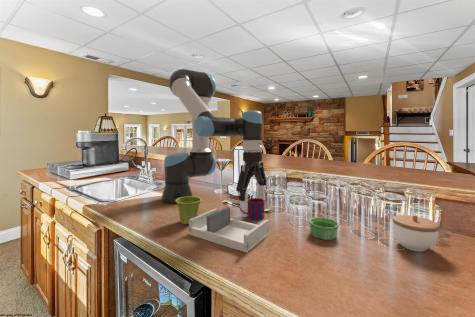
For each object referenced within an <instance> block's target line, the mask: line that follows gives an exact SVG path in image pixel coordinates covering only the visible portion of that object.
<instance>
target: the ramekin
mask: <svg viewBox="0 0 475 317" xmlns="http://www.w3.org/2000/svg"><path fill="white" fill-rule="evenodd" d="M309 226H310V229H309V230H310V234H311V236H313V237H314V238H316V239H320V240H323V241H324V240H325V241H330V240H335V239H336V238H337V237H338V236H337V235H338V229H339V226H340V225H339V222H337V220H334V219H332V218H329V217H320V216H319V217H312V218H310V219H309Z"/></svg>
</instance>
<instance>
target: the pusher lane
mask: <svg viewBox="0 0 475 317" xmlns="http://www.w3.org/2000/svg"><path fill="white" fill-rule="evenodd" d="M218 211H219V210H218V208H213V209H210V210H208V211H206V212H204V213H202V214H200V215H199V214H198V216H197V217H194V218H192V219H190V220H189V224H188V234H189V235H190V236H193V237H196V238H198V239H203V240H205V241H209V242H211V243H215V244H217V245H221V246H225V247H227V248H230V249H233V250H237V251H239V250H240V252H242V251H243V252H242V253H245V252H246V254H247V253H249V252H250V251H251V250H252V249H254V248H255V246H257V245H258V244H260V242H262V241H263V240H265V238H267V237H268V236H269V232H270V231H269V228H270V220H269V219H265V220H263V221H262V222H260V223H259V224H256V223H251V222H247V221H243V220H239V219H235V218H231V217H230V224H228V225H226V226H224V227H223V228H221V229H219V230H217V231H215V232H214V233H213V232H210V231H207V216H209V215H211V214H213V213H215V212H218ZM249 250H250V251H249ZM248 251H249V252H248Z"/></svg>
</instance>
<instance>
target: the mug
mask: <svg viewBox="0 0 475 317" xmlns="http://www.w3.org/2000/svg"><path fill="white" fill-rule="evenodd" d="M265 201H266V200H265V199H264V200H263V199H260V198H257V197H253V198H247V205H248V209H247V211H244V209H240V208H239V210H240V211H241V212H242V214H245V215H247V218H248V219H250V220H254V221H261V220H263V219H264V218H265V214H266V213H265V209H266V208H265V206H266V205H265V204H266V203H265Z"/></svg>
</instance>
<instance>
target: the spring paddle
mask: <svg viewBox="0 0 475 317" xmlns="http://www.w3.org/2000/svg"><path fill="white" fill-rule="evenodd" d="M230 218H231V207H228V206H226V207H224V208H223V209H220V210H218V212H215V213H213V214H211V215H209V216H207V231H210V232H213V233H214V232H215V231H217V230H219V229H221V228H223V227H224V226H226V225H228V224H230Z"/></svg>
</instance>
